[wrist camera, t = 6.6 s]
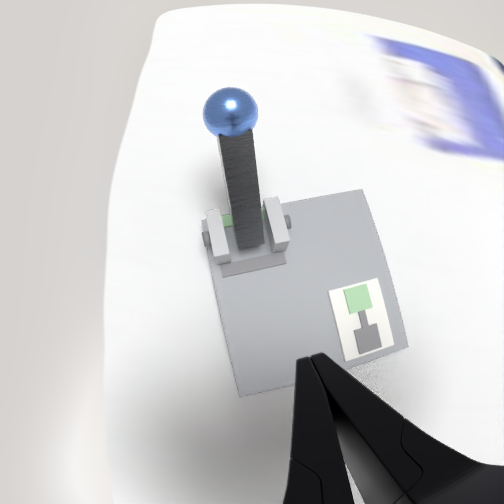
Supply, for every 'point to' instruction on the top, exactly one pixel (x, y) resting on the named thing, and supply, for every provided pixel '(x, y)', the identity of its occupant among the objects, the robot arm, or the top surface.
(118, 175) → the top surface
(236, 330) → the switch panel
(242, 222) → the lever
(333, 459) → the robot arm
